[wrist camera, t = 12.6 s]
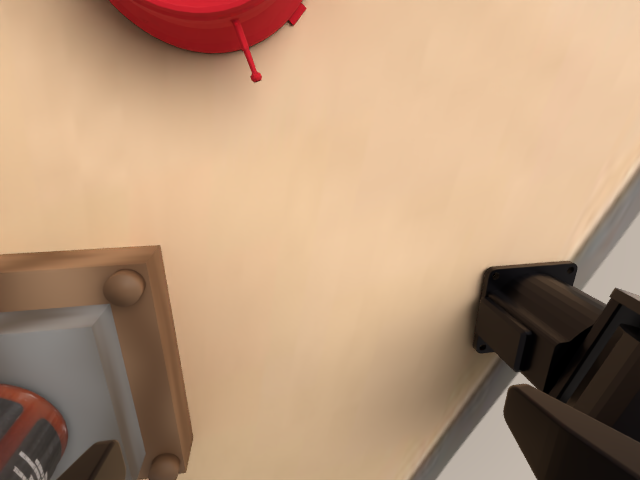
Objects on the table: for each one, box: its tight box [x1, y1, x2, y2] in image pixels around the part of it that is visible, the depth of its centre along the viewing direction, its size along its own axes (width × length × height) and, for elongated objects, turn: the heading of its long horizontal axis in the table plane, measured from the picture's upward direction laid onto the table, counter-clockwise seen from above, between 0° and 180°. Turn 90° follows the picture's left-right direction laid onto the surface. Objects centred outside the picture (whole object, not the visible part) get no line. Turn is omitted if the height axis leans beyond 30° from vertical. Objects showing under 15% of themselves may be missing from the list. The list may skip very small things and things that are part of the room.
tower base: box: [0, 245, 193, 480], centre depth 18 cm, size 14×14×4 cm
